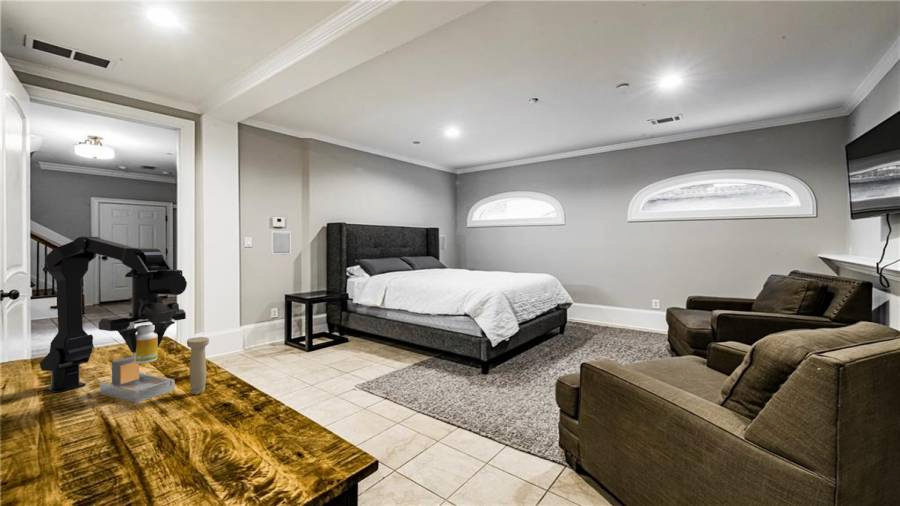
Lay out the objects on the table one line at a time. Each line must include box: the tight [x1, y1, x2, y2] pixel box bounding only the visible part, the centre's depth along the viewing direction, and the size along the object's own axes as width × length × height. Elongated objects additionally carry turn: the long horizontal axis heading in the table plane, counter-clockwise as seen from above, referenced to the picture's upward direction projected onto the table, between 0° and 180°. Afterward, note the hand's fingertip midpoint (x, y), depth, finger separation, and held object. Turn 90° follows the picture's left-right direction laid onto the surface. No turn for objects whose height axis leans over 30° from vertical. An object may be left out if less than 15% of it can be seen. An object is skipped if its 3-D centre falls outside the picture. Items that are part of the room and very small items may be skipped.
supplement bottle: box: [132, 324, 159, 364], centre depth 105 cm, size 5×5×10 cm
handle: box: [186, 336, 210, 395], centre depth 106 cm, size 5×6×15 cm
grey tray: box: [99, 356, 176, 404], centre depth 106 cm, size 16×10×8 cm, turn 69°
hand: (145, 349), depth 105 cm, fingers closed on supplement bottle, 5 cm apart
